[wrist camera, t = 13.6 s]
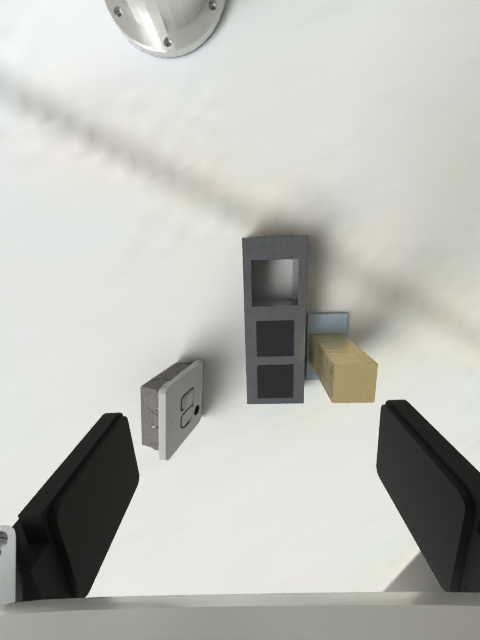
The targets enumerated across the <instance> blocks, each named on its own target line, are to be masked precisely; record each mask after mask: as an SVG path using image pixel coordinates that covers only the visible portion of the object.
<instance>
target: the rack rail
mask: <svg viewBox="0 0 480 640" xmlns="http://www.w3.org/2000/svg"><path fill="white" fill-rule="evenodd" d="M307 241H308V235H306V236H280V237H253V238H242V248H243V280H244V312H245V344H246V377H247V404H286V403H304V365H305V324H306V282H307ZM277 259H293V300H263V301H252V278H251V260H277Z"/></svg>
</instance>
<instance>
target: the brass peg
mask: <svg viewBox="0 0 480 640" xmlns="http://www.w3.org/2000/svg"><path fill="white" fill-rule="evenodd" d="M310 363H311V365H312V367H313V369H314V371H315V372H316V374H317V376H318V378H319V380H320V381H321V383H322V385H323V387H324V389H325V390H326V392H327V394H328V396H329V398H330V400H331V401H332V403H364V402H374V400H375V389H376V379H377V368H378V363H376V362H375V361H374V360H373V359H372V358H371V357H369V356H368V355H367V354H366V353H365V352H364V351H363V350H361V349H360V348H359V347H358V346H357V345H356V344H354V343H353V342H352V341H351V340H350V339H349V338H348V337H346V336H345V335H344V334H343V333H318V334H311V347H310Z"/></svg>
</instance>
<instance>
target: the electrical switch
mask: <svg viewBox="0 0 480 640" xmlns="http://www.w3.org/2000/svg"><path fill="white" fill-rule="evenodd" d="M174 372H175V373H174ZM145 387H146V388H145ZM202 389H203V362H202V361H200V360H195V361H194V362H193V363H192V364H182V363H177V362H176V363H175V364H173V365H172V366H170V367H169V368H168V369H166V370H165V371H163V372H162V373H160V374H159V375H157V376H156V377H154V378H153V379H151V380H150V381H148V382H147V383H145V384H144V385H142V387H141V422H142V445H145V446H149V447H152V448H153V449H155V450H158V451H159V459H162V460H169V459H170V457H171V456H172V455H173V454H174V453H175V451H176V450H177V449H178V448H179V446H180V445H181V444H182V443H183V441H184V440H185V439H186V438H187V436H188V435H189V434H190V433H191V431H192V430H193V429H194V428H195V427H196V425H197V424H198V423H199V422H200V419H201V416H202ZM158 397H159V398H158ZM158 408H159V409H158ZM157 409H158V410H157ZM152 426H154V427H155V428H152ZM146 429H147V430H146ZM145 437H146V438H145Z"/></svg>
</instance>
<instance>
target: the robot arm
mask: <svg viewBox="0 0 480 640" xmlns="http://www.w3.org/2000/svg"><path fill="white" fill-rule="evenodd" d="M225 1H226V0H105V3H106V6H107V9H108V11H109V12H110V14H111V16H112V18H113V20H114V22H115V23H116V25H117V26H118V28H119V29H120V31H121V32H122V34H123V35H124V36H125V37H126V38H127V39H128V40H129V41H130V42H131V43H132V44H133V45H135V46H136V47H138V48H139V49H140V50H142V51H144V52H146V53H148V54H151V55H154V56H159V57H177V56H181V55H185V54H187V53H189V52H191V51H193V50H195V49H196V48H198V47H199V46H200V45H201V44H203V43H204V42H205V41H206V40H207V38H208V37H209V36H210V35H211V34H212V33H213V31H214V29H215V27H216V26H217V24H218V22H219V20H220V18H221V15H222V12H223V9H224V7H225ZM169 46H170V47H169ZM376 467H377V473H378V476H379V478H380V479H381V481H382V483H383V485H384V487H385V488H386V490H387V492H388V494H389V495H390V497H391V499H392V501H393V502H394V504H395V506H396V508H397V509H398V511H399V513H400V515H401V517H402V518H403V520H404V522H405V524H406V525H407V527H408V529H409V531H410V532H411V534H412V536H413V538H414V539H415V541H416V543H417V545H418V547H419V548H420V550H421V552H422V554H423V555H424V557H425V559H426V561H427V562H428V564H429V566H430V568H431V569H432V571H433V573H434V575H435V576H436V578H437V580H438V582H439V584H440V585H441V587H442V588H443V589H444V590H445V591H446V592H353V593H275V594H216V595H168V596H125V597H92V598H85V597H86V596H87V595H88V593H89V591H90V589H91V587H92V585H93V583H94V581H95V578H96V576H97V574H98V572H99V569H100V567H101V565H102V563H103V561H104V558H105V556H106V554H107V552H108V550H109V547H110V545H111V543H112V541H113V539H114V536H115V534H116V532H117V530H118V528H119V525H120V523H121V521H122V519H123V517H124V514H125V512H126V510H127V508H128V506H129V503H130V501H131V499H132V497H133V494H134V492H135V490H136V488H137V485H138V482H139V471H138V467H137V462H136V457H135V452H134V447H133V442H132V438H131V433H130V428H129V423H128V419H127V417H125V416H123V414H122V413H105V414H104V415H102V417H101V418H100V419H99V420H98V421H97V422H96V424H95V425H94V426H93V427H92V428H91V430H90V431H89V432H88V433H87V434H86V436H85V437H84V438H83V439H82V440H81V441H80V443H79V444H78V445H77V446H76V447H75V449H74V450H73V451H72V452H71V453H70V454H69V456H68V457H67V458H66V459H65V460H64V462H63V463H62V464H61V465H60V466H59V468H58V469H57V470H56V471H55V472H54V473H53V475H52V476H51V477H50V478H49V479H48V481H47V482H46V483H45V484H44V485H43V486H42V488H41V489H40V490H39V491H38V492H37V494H36V495H35V496H34V497H33V498H32V500H31V501H30V502H29V503H28V504H27V505H26V507H25V508H24V509H23V510H22V511H21V513H20V514H19V515H18V517H19V519H18V521H17V522H16V523H15V524H14V525H13V527H11V526H9V525H0V640H480V472H479V471H478V470H477V469H476V468H475V467H474V466H473V465H472V464H471V463H470V462H469V461H468V460H466V459H465V458H464V457H463V456H462V455H461V454H460V453H459V452H458V451H457V450H456V449H455V448H454V447H453V446H452V445H451V444H450V443H449V442H448V441H447V440H446V439H445V438H444V437H443V436H442V435H441V434H440V433H439V432H438V431H437V430H436V429H435V428H434V427H433V426H432V425H431V424H430V423H429V422H428V421H427V420H426V419H425V418H424V417H423V416H422V415H421V414H420V413H419V412H418V411H417V410H416V409H415V408H414V407H413V406H412V405H411V404H409V403H408V402H407V401H406V400H388V401H386V404H385V405H382V406H381V414H380V426H379V439H378V451H377V464H376Z"/></svg>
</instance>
